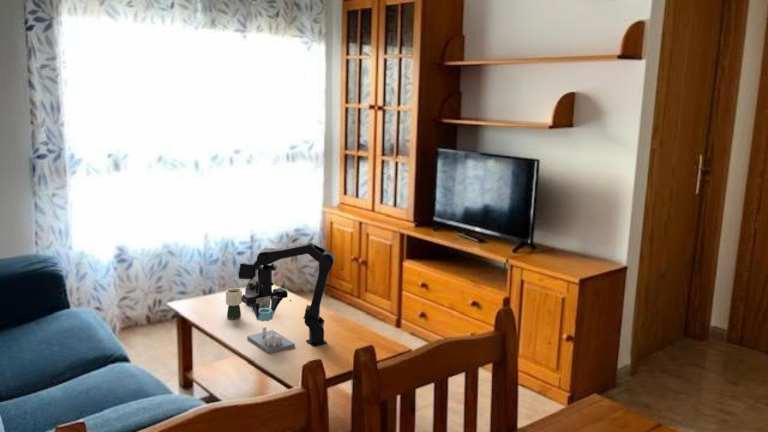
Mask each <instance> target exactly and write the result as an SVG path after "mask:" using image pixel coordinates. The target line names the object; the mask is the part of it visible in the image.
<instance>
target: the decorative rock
mask: <svg viewBox="0 0 768 432" xmlns="http://www.w3.org/2000/svg"><path fill="white" fill-rule="evenodd" d="M256 281H258V275H257V276H256V277H254V279H253V280H251V279H248V282H247V284H249V283H253V285H256ZM245 294H252V295H254V296H255V295H258V294H256V293H255V292H253V293H252V292H251V291H248V290H247V285H246V286H245V289H244V295H245ZM257 303H259V308H268V309H270V308H271V298H270V297H269V298H264V299H259V300H257ZM249 306H250V307H252V306H251V305H249Z"/></svg>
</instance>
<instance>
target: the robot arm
mask: <svg viewBox="0 0 768 432" xmlns="http://www.w3.org/2000/svg"><path fill="white" fill-rule="evenodd" d="M303 255H309V256H310V257H311V258H312V259H314V260H315V261H316V262H318V276H317V280H316V284H315V288H314V291H313V292H314V293H313V296H312V300H311V303H310V305H309V304H306V308H305V310H304V315H303V318H302V319H304V320H303V321H304V324H305V326H307V327H308V331H309V332H308V339H307V340H305V341H306V343H308V344H309V345H311V346H313V347H319V346H321V345H325V344H328V341H326V340H325V328H324V326H325V323H326V322H325V319H324V318H323V317H322V316H321V302H322V298H323V294H324V291H325V286H326V283H327V278H328V276H329V274H330V272H331V270H332V267H333V265H334V261H335V253H333V251H331V250H327V249H324V248H323V247H320V246H318V245H316V244H315V243H313V242H311V241H310V242H309V241H308V242H306V243H303V244H302V243H300V244H297V245H292V246H287V247H283V248H275V247H273V248H271V247H270V248H269V247H268V248H263V249H261V250H260V251H259V253H258V255H256V260H255V261H254V262H240V264H239V268H238V279H239V280H250V279H251V280H253V279H254V277H256V276H258V281H256V285H253V283H249V284H248V283H247V284H246V286H247V290H248V291H251V292H252V293H253V292H255V293H256V294H258V295H255V296H254V295H252V294H245V293H244V294H242V297H241V301H242V303H243V304H245V305H248V306H250V305H251V306H250V307H251V308H252V310H253V313H254V316H255V319H257V318H258V315H259V303H257V300H259V299H264V298H269V297H270V309H272V311H273V315H274V314H275V312H276V310H277V308H278V306H279V305H280V303H281V301H283V299H285V298H288V291H287V290H286V289H284V288H282V287H278V288H273V286H274V282H273V271H276V270H277V269H278V266H277V265H275V264H274V263H275V262H278V261H279V260H283V259H288V258H294V257H298V256H303Z"/></svg>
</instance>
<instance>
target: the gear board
mask: <svg viewBox="0 0 768 432" xmlns="http://www.w3.org/2000/svg"><path fill="white" fill-rule="evenodd" d="M246 338H247V341H248V342H251V344H254V345H255V346H256V347H258V348H259V349H261V350H263V351H264V352H266V353H267V354H270V355H271V354H274V353H277V352H281V351H285V350H286V351H287V350H288V349H293V348H296V345H295V343H294V342H293V341H291V340H290V339H288V338H286V337H284V336H283V335H282V334H279V333H278V332H277V331H275V330H274V329H272V330H267V326H262V330H261V332H258V333H254V334H251V335H247V337H246Z"/></svg>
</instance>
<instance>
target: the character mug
mask: <svg viewBox="0 0 768 432" xmlns="http://www.w3.org/2000/svg"><path fill="white" fill-rule="evenodd" d="M242 295H243V289H241V288H237V287H232V288H231V287H230V288H227V289H226V290H225V304H226V305H227V306H228V307H227V313H226V314H227V315H226V317H227V318H228V319H238V318H239V319H240V318H241V317H242V312H241V307H240V305H241V304H242V303H243V302H242V301H241V297H242Z"/></svg>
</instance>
